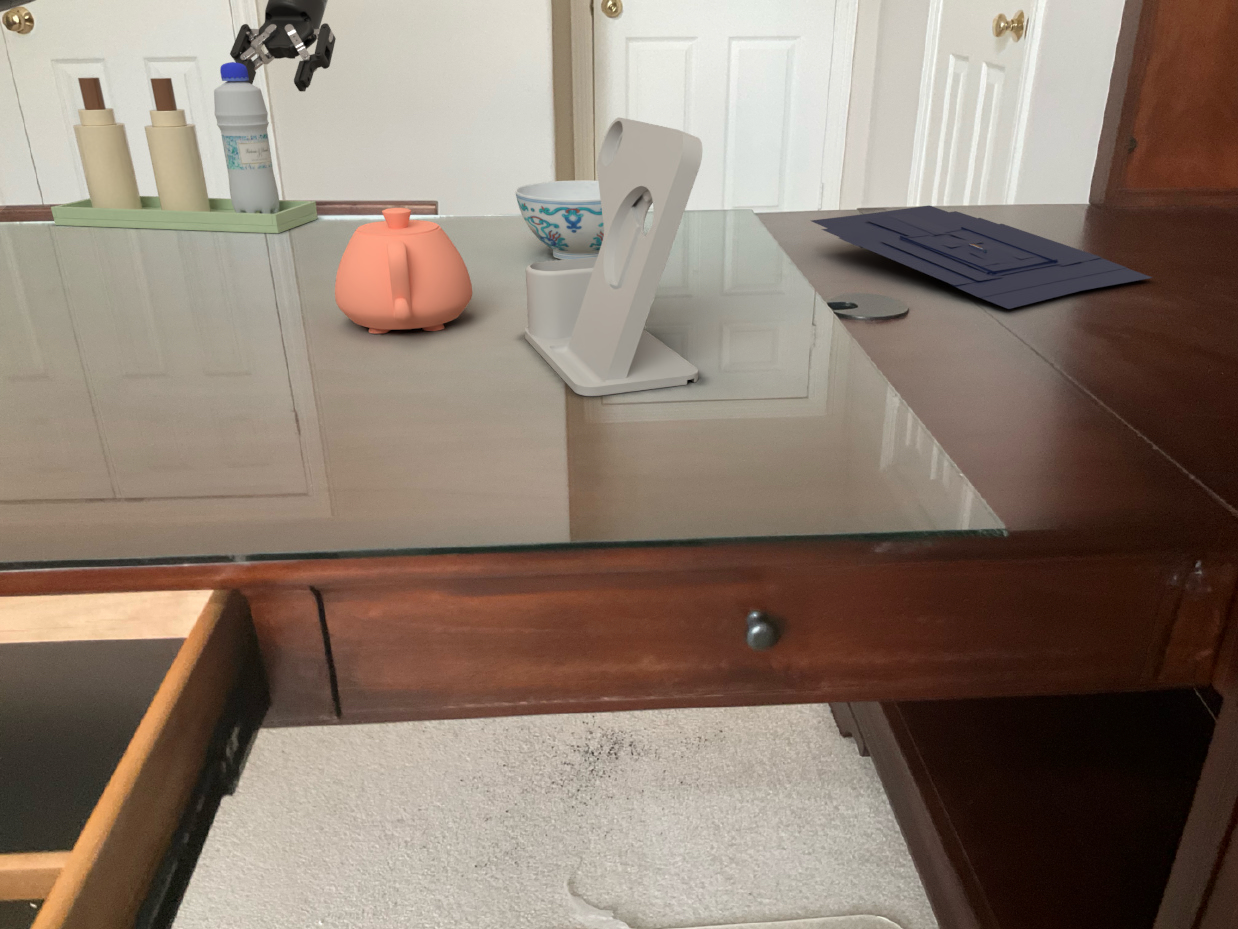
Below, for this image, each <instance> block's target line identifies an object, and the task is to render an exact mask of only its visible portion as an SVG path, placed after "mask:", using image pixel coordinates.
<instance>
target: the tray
mask: <svg viewBox="0 0 1238 929" xmlns="http://www.w3.org/2000/svg"><path fill="white" fill-rule="evenodd" d="M208 198H209V203H210V209H211V212H205V211H176V210H161V206H160V201H159V196H158V195H157V196H154V195H140V199H141V204H142V208H143V209H116V208H92V205H91V200H90V197H89V198H85V199H80V200H75V201H71V202H67V203H62V204H58V205H54V206H50V210H51V214H52V218H53V221H54V225H55V226H65V227H66V226H67V227H68V226H72V227H93V228H95V227H96V228H121V229H122V228H123V229H124V228H125V229H146V230H147V229H148V230H175V231H176V230H177V231H179V230H180V231H204V232H207V231H208V232H229V233H230V232H231V233H257V234H280V233H283V232H286V231H288V230H291V229H295V228H297V227H299V226H302V225H305V224H308V223H310V222H313V221H316V220H318V219H319V216H318V212H317V211H318V210H317V203H316V202H317V201H316V200H289V199H288V200H286V199H285V200H283V199H279V211H278V213H275V214H265V213H260V212H259V211H257V212H256V213H236V212H235V210H234V207H233V205H232V202H231V198H220V197H208Z"/></svg>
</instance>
